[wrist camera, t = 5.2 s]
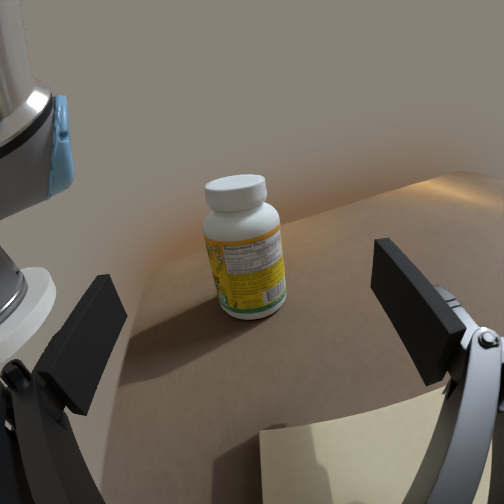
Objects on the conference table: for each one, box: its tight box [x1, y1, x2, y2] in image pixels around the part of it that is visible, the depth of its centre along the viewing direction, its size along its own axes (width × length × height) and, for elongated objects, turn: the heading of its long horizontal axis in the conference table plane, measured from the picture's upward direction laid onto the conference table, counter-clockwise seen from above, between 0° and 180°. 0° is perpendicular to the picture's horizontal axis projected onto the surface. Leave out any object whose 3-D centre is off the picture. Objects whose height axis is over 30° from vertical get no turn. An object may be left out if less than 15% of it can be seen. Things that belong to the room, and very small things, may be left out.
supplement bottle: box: [203, 174, 286, 320], centre depth 21 cm, size 5×5×10 cm
